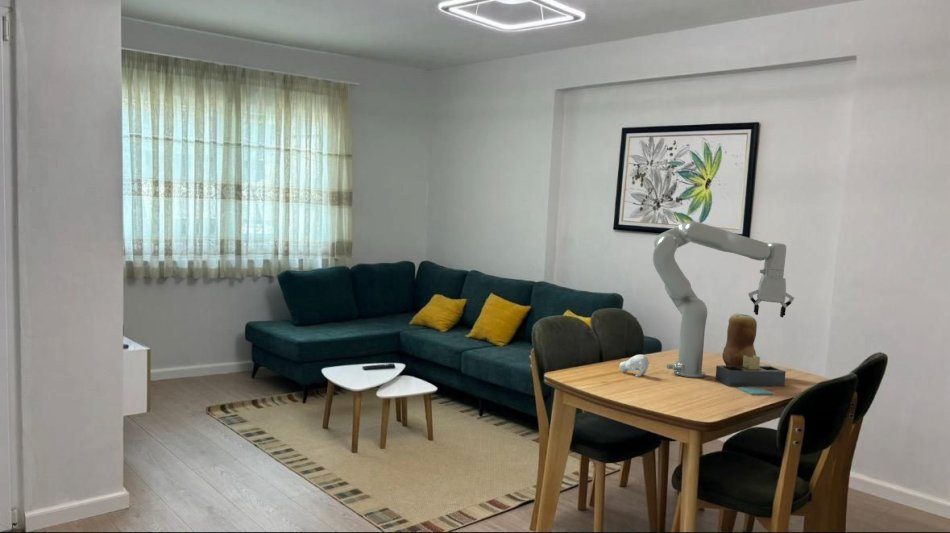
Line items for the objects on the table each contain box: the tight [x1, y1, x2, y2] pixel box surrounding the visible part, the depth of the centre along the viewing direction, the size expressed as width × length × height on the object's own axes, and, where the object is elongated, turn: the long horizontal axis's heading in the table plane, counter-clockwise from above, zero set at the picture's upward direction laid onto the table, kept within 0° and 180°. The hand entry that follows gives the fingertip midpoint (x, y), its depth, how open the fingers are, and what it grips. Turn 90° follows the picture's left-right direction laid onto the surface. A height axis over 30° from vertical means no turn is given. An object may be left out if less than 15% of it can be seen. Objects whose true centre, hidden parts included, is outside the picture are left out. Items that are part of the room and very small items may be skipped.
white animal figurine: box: [619, 354, 650, 378], centre depth 291 cm, size 6×8×12 cm
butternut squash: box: [722, 312, 758, 366], centre depth 304 cm, size 14×13×25 cm
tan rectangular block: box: [743, 355, 761, 370], centre depth 285 cm, size 4×4×11 cm
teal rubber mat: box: [737, 387, 774, 396], centre depth 272 cm, size 9×9×1 cm
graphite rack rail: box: [715, 365, 787, 388], centre depth 285 cm, size 24×10×6 cm, turn 102°
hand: (768, 315), depth 291 cm, fingers open, 9 cm apart
